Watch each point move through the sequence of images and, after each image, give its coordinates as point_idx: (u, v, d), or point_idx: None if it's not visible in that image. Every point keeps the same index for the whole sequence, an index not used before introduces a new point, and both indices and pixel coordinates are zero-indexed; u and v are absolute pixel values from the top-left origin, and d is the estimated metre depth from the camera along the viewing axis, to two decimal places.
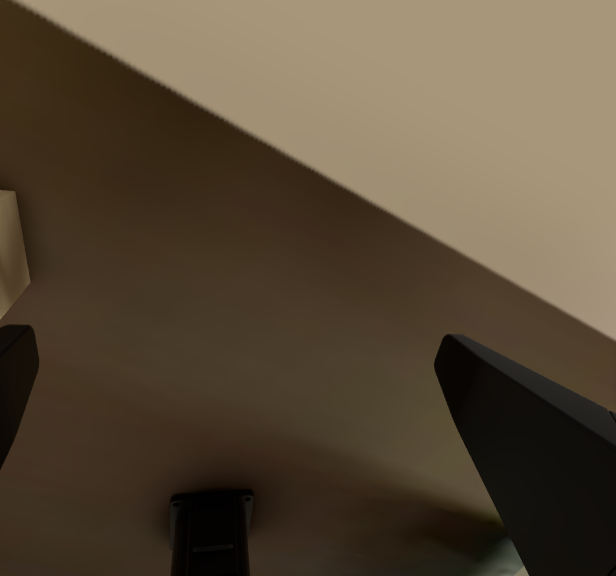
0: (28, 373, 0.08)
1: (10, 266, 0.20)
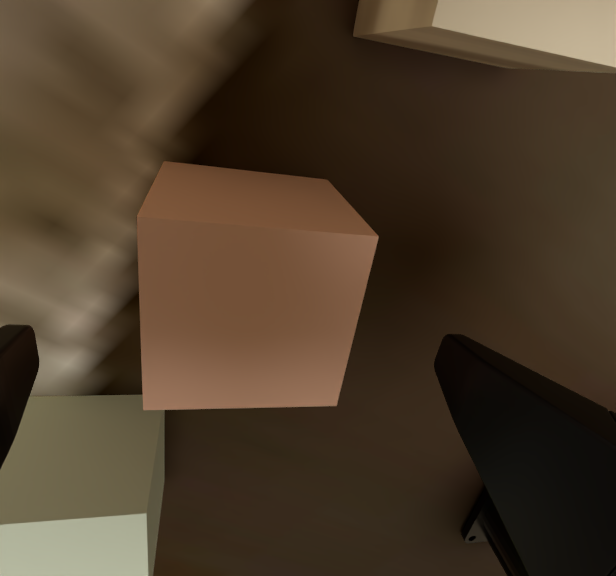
0: (28, 373, 0.08)
1: None
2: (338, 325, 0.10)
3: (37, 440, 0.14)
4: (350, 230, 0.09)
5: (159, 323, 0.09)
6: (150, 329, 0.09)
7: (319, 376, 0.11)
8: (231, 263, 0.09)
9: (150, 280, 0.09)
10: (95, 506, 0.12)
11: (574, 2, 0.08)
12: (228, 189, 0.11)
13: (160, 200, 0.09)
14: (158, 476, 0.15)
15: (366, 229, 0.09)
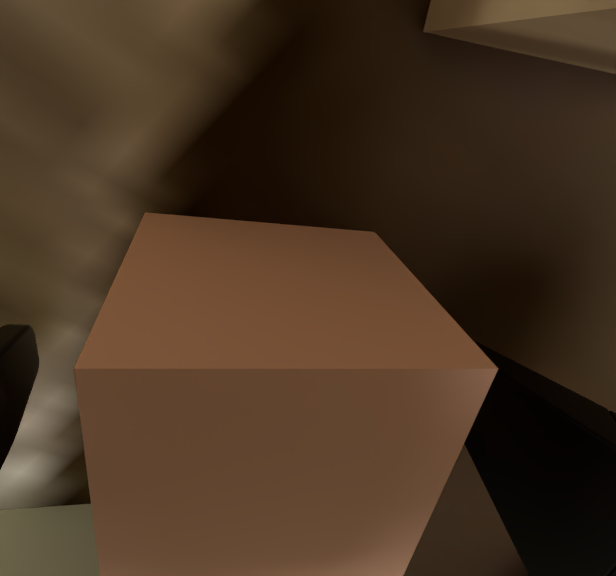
0: (28, 373, 0.08)
1: None
2: (416, 490, 0.06)
3: None
4: (449, 357, 0.05)
5: (126, 516, 0.05)
6: (111, 525, 0.05)
7: (379, 552, 0.07)
8: (248, 426, 0.05)
9: (107, 460, 0.05)
10: None
11: None
12: (240, 267, 0.07)
13: (128, 310, 0.05)
14: None
15: (471, 350, 0.06)
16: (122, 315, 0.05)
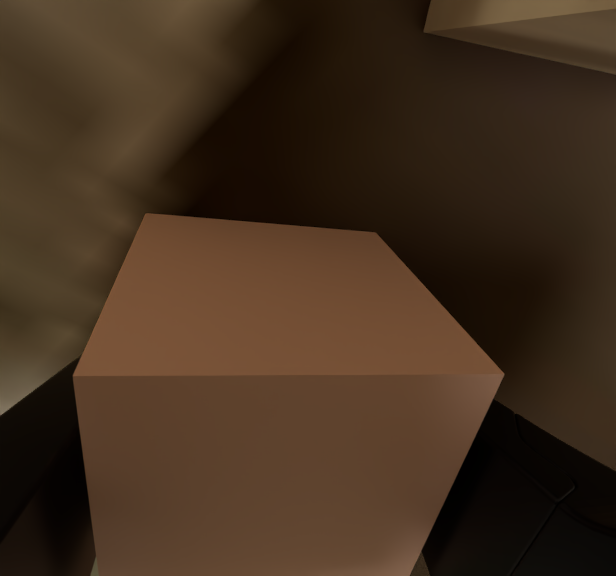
0: None
1: None
2: (420, 496, 0.06)
3: None
4: (454, 362, 0.05)
5: (126, 524, 0.05)
6: (111, 533, 0.05)
7: (383, 559, 0.07)
8: (251, 433, 0.05)
9: (106, 468, 0.05)
10: None
11: None
12: (242, 270, 0.07)
13: (128, 314, 0.05)
14: None
15: (477, 354, 0.06)
16: (122, 320, 0.05)
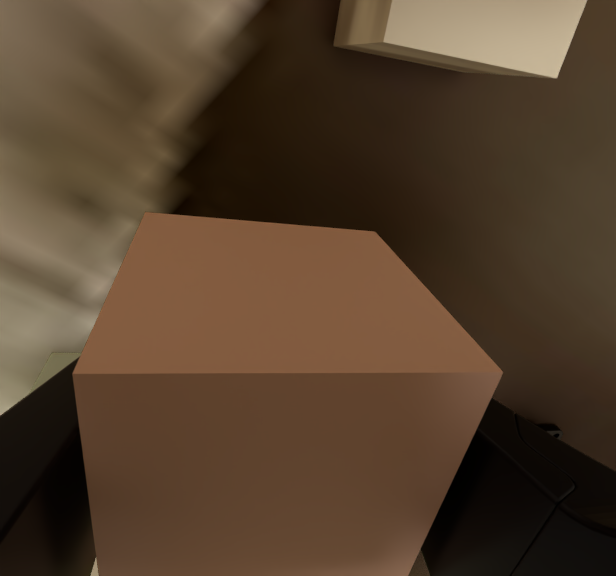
0: None
1: None
2: (419, 494, 0.06)
3: None
4: (453, 360, 0.05)
5: (125, 523, 0.05)
6: (110, 531, 0.05)
7: (382, 557, 0.07)
8: (250, 430, 0.05)
9: (106, 466, 0.05)
10: None
11: (492, 24, 0.10)
12: (241, 269, 0.07)
13: (128, 312, 0.05)
14: None
15: (475, 353, 0.06)
16: (121, 318, 0.05)
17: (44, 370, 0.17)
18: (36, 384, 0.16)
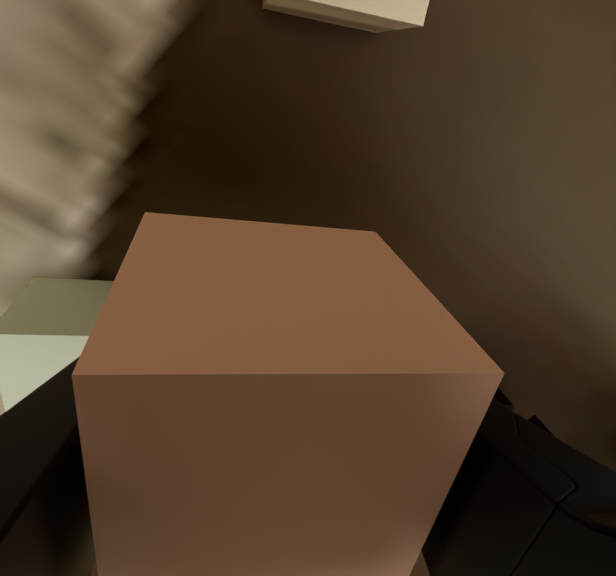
0: None
1: None
2: (420, 495, 0.06)
3: (48, 299, 0.19)
4: (454, 361, 0.05)
5: (125, 524, 0.05)
6: (110, 533, 0.05)
7: (382, 558, 0.07)
8: (250, 432, 0.05)
9: (106, 467, 0.05)
10: (88, 331, 0.17)
11: None
12: (241, 269, 0.07)
13: (127, 313, 0.05)
14: None
15: (476, 353, 0.06)
16: (121, 319, 0.05)
17: (27, 288, 0.20)
18: (19, 297, 0.19)
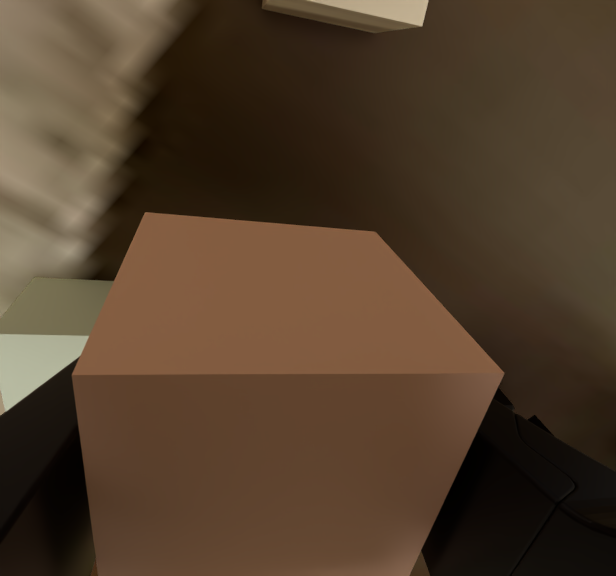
0: None
1: None
2: (420, 495, 0.06)
3: (48, 298, 0.19)
4: (454, 361, 0.05)
5: (125, 524, 0.05)
6: (110, 533, 0.05)
7: (382, 558, 0.07)
8: (250, 432, 0.05)
9: (105, 467, 0.05)
10: (89, 331, 0.18)
11: None
12: (241, 270, 0.07)
13: (127, 313, 0.05)
14: None
15: (476, 353, 0.06)
16: (121, 319, 0.05)
17: (27, 288, 0.20)
18: (20, 297, 0.19)
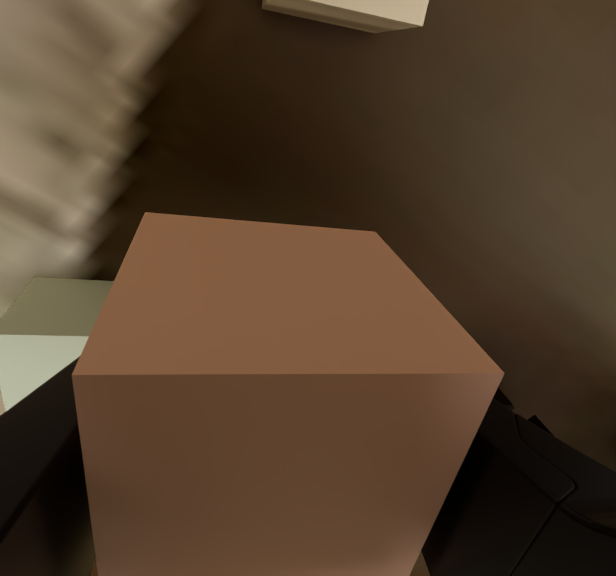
0: None
1: None
2: (420, 496, 0.06)
3: (48, 299, 0.19)
4: (454, 361, 0.05)
5: (125, 524, 0.05)
6: (110, 533, 0.05)
7: (382, 558, 0.07)
8: (250, 432, 0.05)
9: (105, 467, 0.05)
10: (89, 332, 0.18)
11: None
12: (241, 270, 0.07)
13: (127, 313, 0.05)
14: None
15: (476, 353, 0.06)
16: (121, 319, 0.05)
17: (27, 288, 0.20)
18: (20, 297, 0.19)
